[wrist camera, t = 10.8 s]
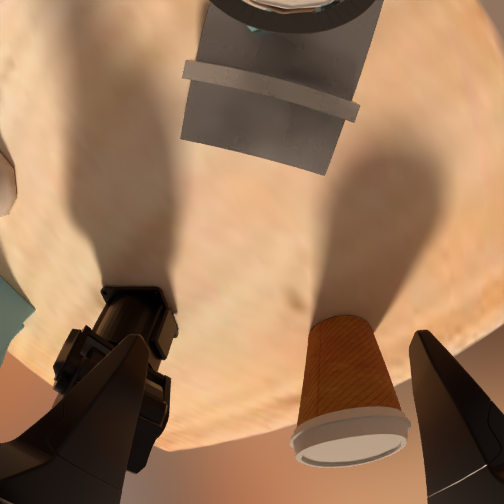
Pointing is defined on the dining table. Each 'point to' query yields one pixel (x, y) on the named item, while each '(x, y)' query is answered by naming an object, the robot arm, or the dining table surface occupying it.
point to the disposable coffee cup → (347, 399)
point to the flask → (6, 186)
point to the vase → (11, 315)
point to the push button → (292, 14)
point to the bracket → (276, 88)
